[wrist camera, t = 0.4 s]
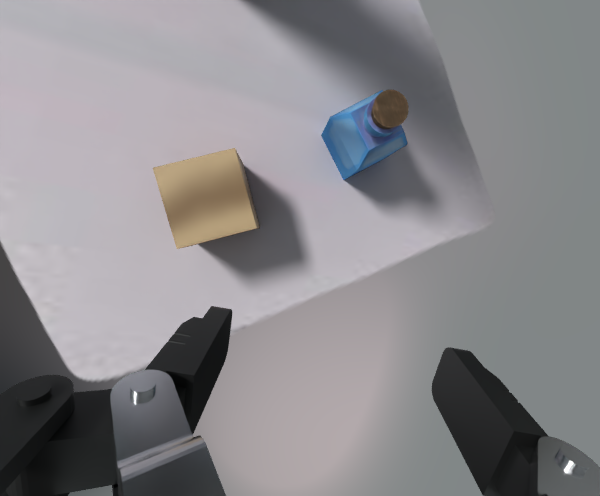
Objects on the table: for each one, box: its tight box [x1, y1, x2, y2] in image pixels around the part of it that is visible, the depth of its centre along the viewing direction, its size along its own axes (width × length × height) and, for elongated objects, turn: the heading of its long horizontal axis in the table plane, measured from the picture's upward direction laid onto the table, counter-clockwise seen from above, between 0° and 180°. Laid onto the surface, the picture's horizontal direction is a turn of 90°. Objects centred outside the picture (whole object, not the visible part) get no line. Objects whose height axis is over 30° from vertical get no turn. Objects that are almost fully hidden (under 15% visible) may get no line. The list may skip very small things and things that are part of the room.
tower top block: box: [153, 148, 259, 249], centre depth 31 cm, size 8×8×4 cm
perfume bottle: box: [321, 90, 408, 180], centre depth 31 cm, size 6×6×12 cm
